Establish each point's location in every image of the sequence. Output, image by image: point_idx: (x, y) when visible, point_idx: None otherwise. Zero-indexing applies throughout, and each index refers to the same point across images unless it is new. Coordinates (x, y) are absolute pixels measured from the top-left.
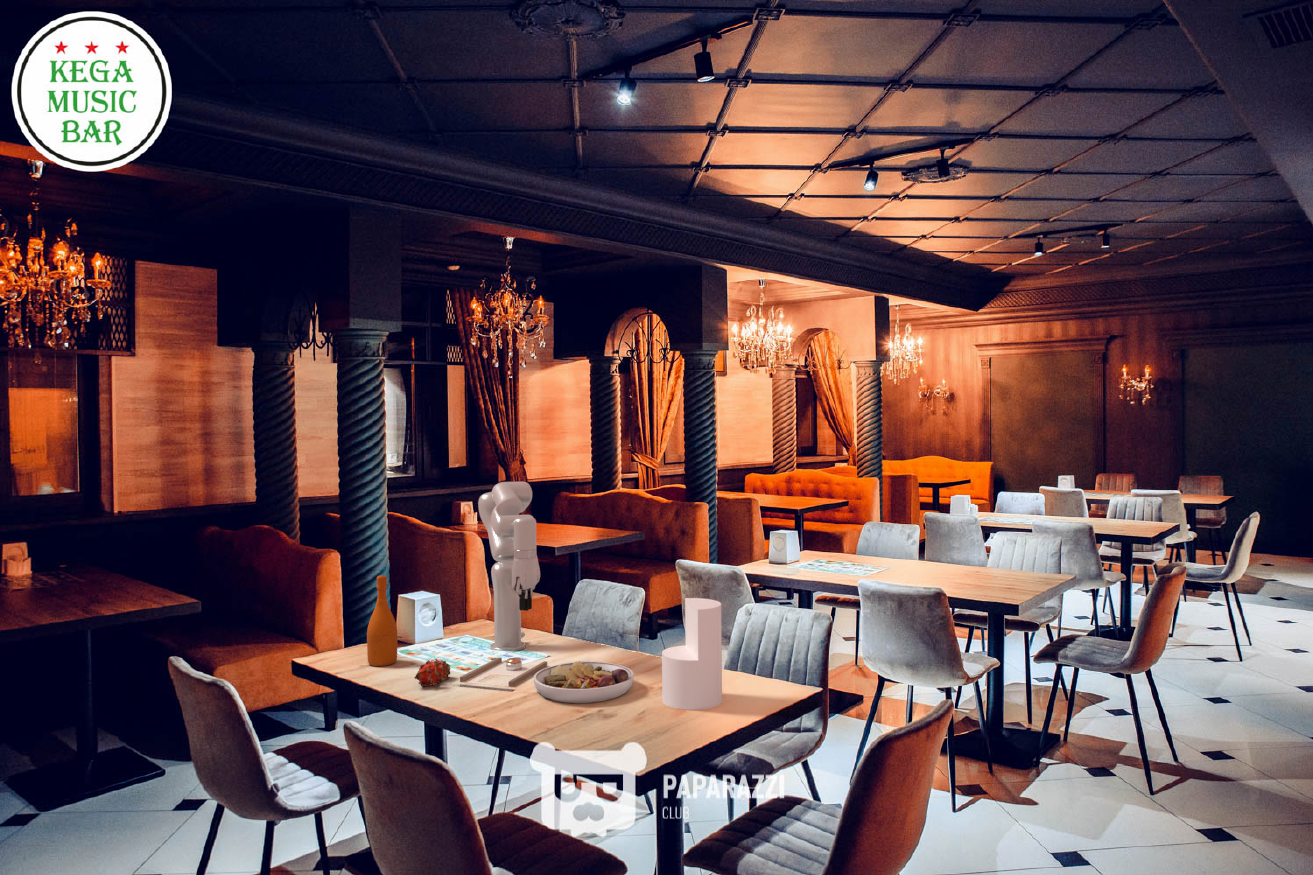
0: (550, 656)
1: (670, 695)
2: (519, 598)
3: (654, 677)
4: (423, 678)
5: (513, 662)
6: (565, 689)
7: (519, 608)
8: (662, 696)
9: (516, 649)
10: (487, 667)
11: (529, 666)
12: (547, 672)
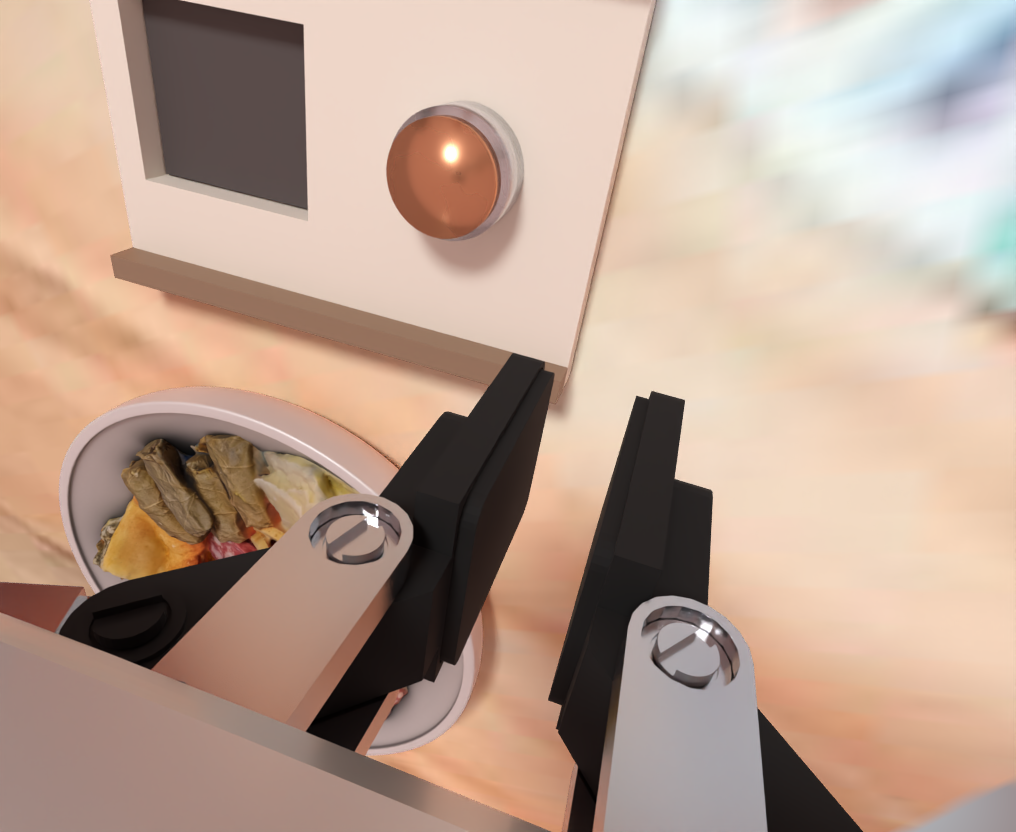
0: (1010, 337)
1: None
2: (365, 500)
3: (513, 774)
4: None
5: (394, 191)
6: (69, 541)
7: (508, 359)
8: None
9: None
10: None
11: (542, 270)
12: (282, 445)
